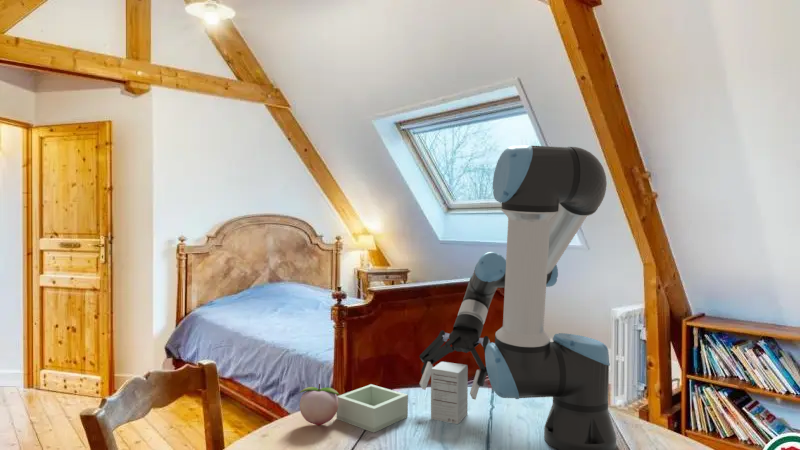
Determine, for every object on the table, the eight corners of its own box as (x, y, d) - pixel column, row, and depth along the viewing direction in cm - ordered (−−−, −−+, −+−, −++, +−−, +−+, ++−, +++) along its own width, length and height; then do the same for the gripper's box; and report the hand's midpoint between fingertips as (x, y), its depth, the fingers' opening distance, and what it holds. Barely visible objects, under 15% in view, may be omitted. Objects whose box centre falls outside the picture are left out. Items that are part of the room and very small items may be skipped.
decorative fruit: (297, 434, 117) (297, 390, 116) (300, 420, 125) (300, 379, 125) (339, 432, 118) (339, 389, 118) (339, 418, 126) (339, 378, 126)
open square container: (407, 416, 128) (407, 394, 127) (373, 432, 118) (374, 408, 118) (370, 404, 135) (371, 384, 135) (336, 418, 126) (336, 396, 126)
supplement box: (440, 409, 133) (441, 360, 133) (468, 414, 129) (468, 364, 129) (429, 419, 126) (430, 368, 126) (458, 425, 123) (458, 372, 123)
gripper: (518, 334, 136) (498, 408, 123) (433, 323, 148) (407, 390, 136) (512, 317, 131) (491, 393, 119) (425, 308, 144) (397, 375, 131)
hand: (446, 391), depth 127 cm, fingers open, 13 cm apart
